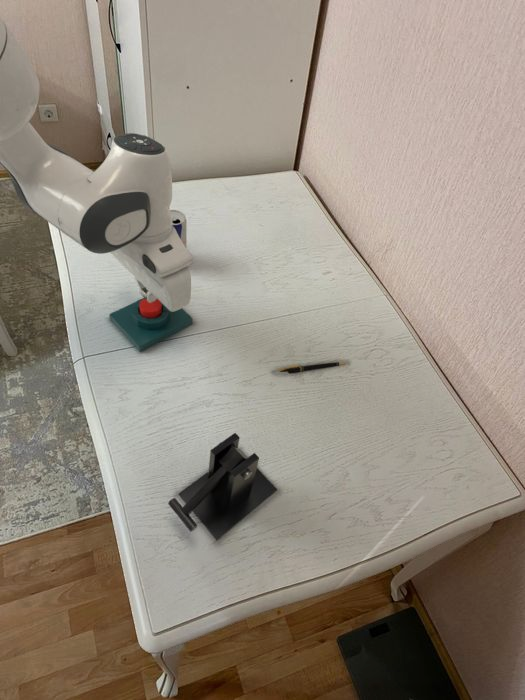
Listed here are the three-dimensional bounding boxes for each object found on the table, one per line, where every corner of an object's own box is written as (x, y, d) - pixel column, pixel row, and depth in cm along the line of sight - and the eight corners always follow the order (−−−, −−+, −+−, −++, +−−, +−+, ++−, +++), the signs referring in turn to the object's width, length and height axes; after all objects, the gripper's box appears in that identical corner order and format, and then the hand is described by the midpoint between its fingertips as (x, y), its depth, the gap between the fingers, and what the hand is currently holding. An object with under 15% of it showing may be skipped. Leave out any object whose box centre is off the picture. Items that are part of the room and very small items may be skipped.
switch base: (216, 543, 72) (221, 506, 62) (178, 496, 76) (177, 455, 66) (276, 492, 78) (289, 452, 68) (238, 452, 82) (246, 408, 72)
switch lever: (194, 531, 68) (187, 532, 66) (172, 504, 70) (164, 503, 68) (255, 466, 69) (250, 464, 66) (231, 441, 71) (226, 438, 68)
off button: (148, 321, 93) (147, 315, 91) (135, 309, 94) (135, 302, 93) (165, 312, 95) (165, 306, 93) (153, 300, 96) (153, 294, 95)
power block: (140, 354, 92) (138, 340, 89) (110, 322, 96) (107, 307, 93) (192, 326, 98) (192, 311, 95) (162, 296, 102) (161, 282, 99)
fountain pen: (344, 362, 97) (346, 357, 96) (346, 367, 96) (348, 362, 95) (273, 372, 93) (274, 367, 92) (275, 377, 93) (276, 372, 91)
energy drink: (170, 275, 107) (168, 228, 98) (156, 261, 109) (154, 214, 100) (191, 266, 109) (191, 220, 100) (177, 252, 112) (177, 206, 103)
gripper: (92, 209, 84) (101, 272, 94) (165, 276, 75) (166, 338, 86) (125, 197, 87) (130, 260, 98) (199, 261, 79) (196, 322, 89)
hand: (148, 297), depth 92 cm, fingers closed
